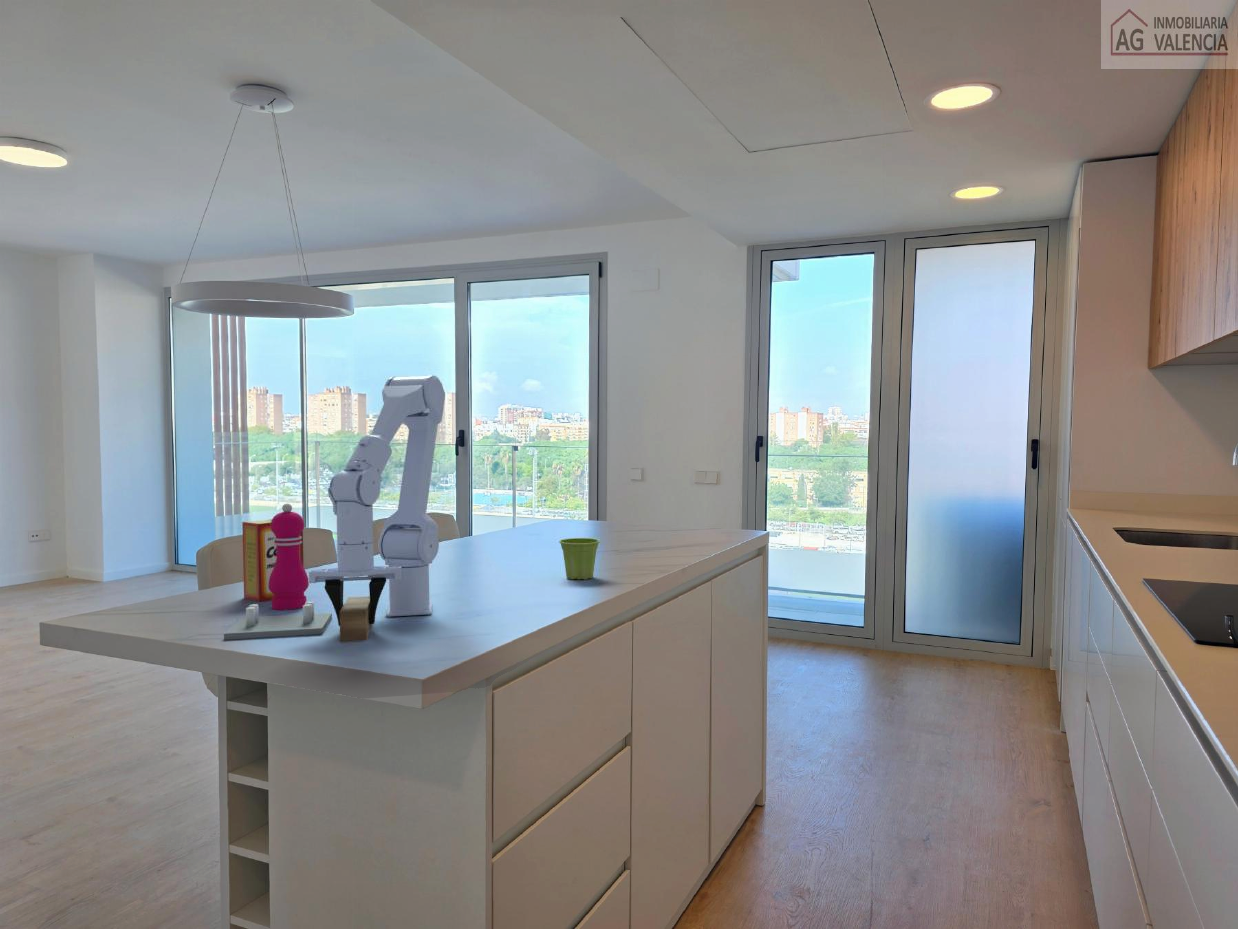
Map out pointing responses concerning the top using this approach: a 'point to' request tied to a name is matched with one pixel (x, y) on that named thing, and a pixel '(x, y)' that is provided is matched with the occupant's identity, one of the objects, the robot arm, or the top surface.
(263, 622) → the peg stand
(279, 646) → the top surface
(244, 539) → the food box
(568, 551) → the plant pot
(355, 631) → the walnut plank
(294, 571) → the pepper mill
